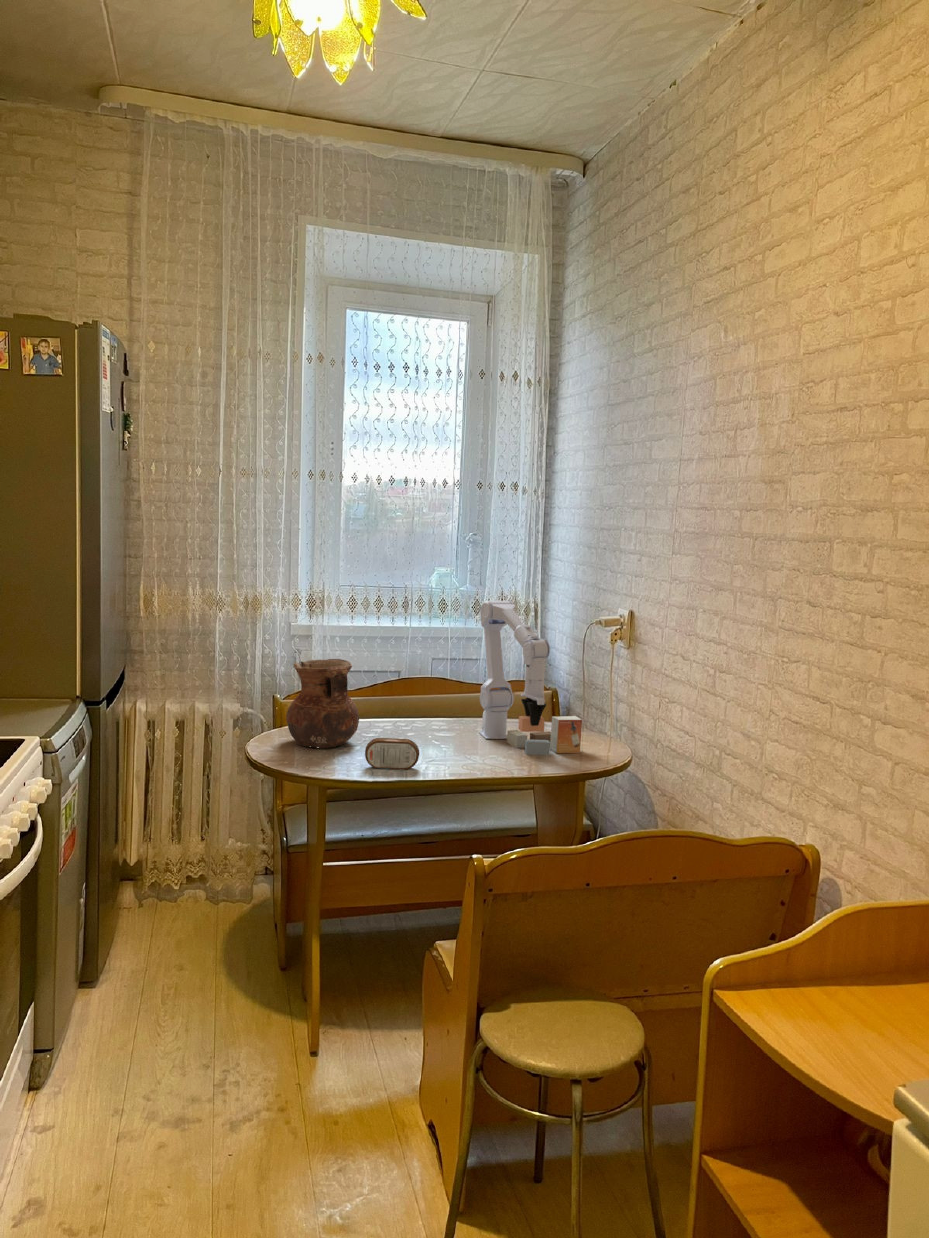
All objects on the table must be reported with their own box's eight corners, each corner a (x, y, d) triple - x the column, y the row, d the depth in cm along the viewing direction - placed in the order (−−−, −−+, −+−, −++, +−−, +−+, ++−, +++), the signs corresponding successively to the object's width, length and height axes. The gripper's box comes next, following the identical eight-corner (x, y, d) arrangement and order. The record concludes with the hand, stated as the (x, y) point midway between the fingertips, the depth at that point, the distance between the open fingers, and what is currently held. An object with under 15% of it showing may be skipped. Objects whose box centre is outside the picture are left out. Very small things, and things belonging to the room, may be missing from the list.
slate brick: (524, 752, 279) (525, 739, 279) (547, 752, 280) (548, 740, 279) (526, 755, 276) (526, 742, 275) (549, 755, 276) (550, 742, 276)
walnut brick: (529, 744, 289) (529, 732, 288) (548, 743, 292) (549, 731, 291) (534, 747, 286) (535, 735, 285) (554, 746, 289) (554, 733, 288)
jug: (271, 744, 275) (272, 662, 272) (313, 731, 293) (315, 654, 290) (331, 756, 264) (333, 670, 262) (371, 742, 283) (374, 662, 280)
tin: (418, 767, 256) (419, 738, 255) (418, 770, 253) (419, 741, 252) (364, 766, 256) (365, 736, 255) (363, 769, 252) (364, 739, 252)
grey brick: (516, 748, 284) (517, 735, 283) (506, 742, 290) (507, 730, 290) (526, 747, 285) (527, 735, 285) (516, 742, 292) (517, 729, 291)
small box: (556, 753, 278) (557, 719, 277) (549, 749, 284) (551, 715, 283) (580, 753, 281) (582, 719, 279) (573, 748, 286) (575, 715, 285)
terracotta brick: (518, 729, 278) (519, 716, 278) (540, 728, 280) (541, 716, 280) (521, 731, 275) (522, 718, 275) (543, 731, 277) (544, 718, 276)
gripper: (515, 675, 282) (513, 718, 283) (529, 683, 268) (527, 729, 269) (536, 675, 284) (534, 718, 285) (552, 683, 270) (549, 729, 271)
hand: (532, 723), depth 277 cm, fingers closed on terracotta brick, 3 cm apart
